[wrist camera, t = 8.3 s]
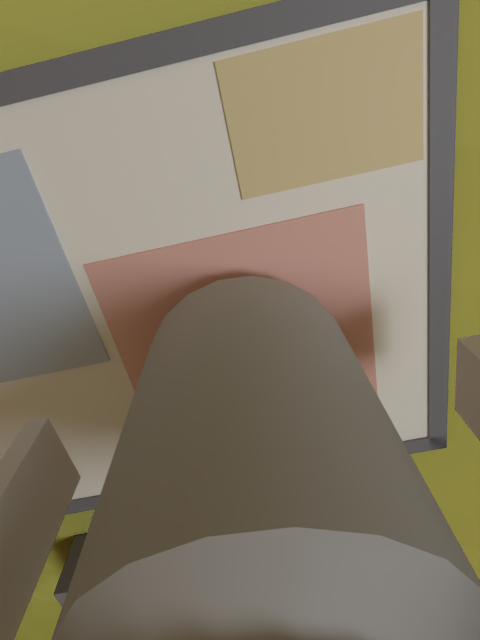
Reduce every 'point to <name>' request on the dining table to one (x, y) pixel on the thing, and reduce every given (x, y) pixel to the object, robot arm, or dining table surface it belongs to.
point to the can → (264, 492)
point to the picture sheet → (228, 203)
